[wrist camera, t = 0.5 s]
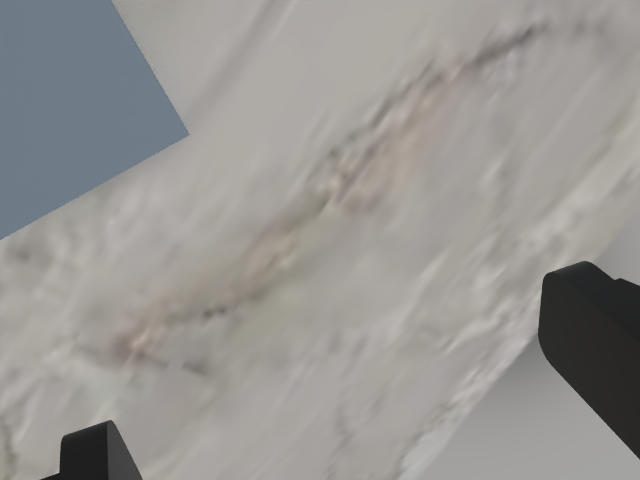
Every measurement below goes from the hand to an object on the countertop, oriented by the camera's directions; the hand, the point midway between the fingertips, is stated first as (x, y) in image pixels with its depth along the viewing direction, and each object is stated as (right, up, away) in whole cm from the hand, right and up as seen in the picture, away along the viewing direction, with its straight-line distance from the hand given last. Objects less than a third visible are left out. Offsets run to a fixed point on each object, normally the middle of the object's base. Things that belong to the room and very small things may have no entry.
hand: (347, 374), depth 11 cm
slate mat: (-17, +11, +22) cm, 29 cm away
